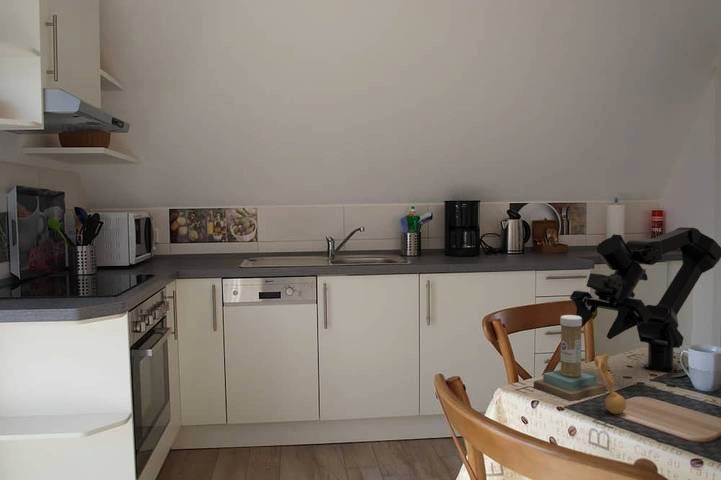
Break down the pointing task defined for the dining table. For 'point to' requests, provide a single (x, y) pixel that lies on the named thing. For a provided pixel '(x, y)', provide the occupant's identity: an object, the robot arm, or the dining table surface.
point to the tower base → (565, 392)
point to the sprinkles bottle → (570, 345)
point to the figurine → (614, 400)
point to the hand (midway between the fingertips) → (591, 334)
